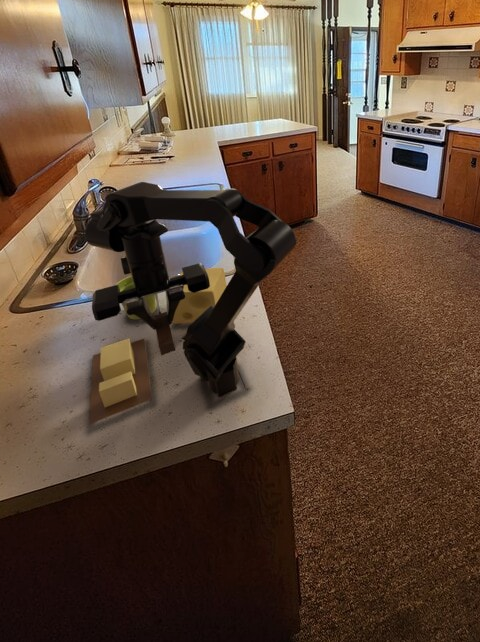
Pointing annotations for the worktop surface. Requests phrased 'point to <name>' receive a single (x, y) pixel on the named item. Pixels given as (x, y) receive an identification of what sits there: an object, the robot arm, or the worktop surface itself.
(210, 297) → the cheese
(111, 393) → the butter slice
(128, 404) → the board
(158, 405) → the worktop surface
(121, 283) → the plant pot
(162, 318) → the knife
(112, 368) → the butter
